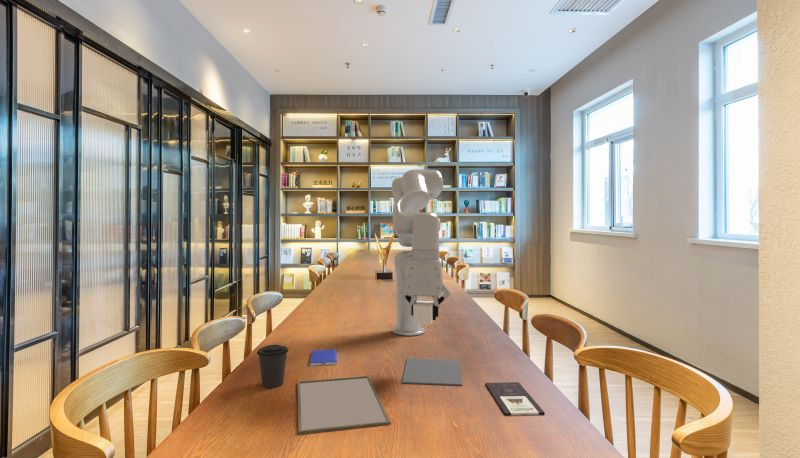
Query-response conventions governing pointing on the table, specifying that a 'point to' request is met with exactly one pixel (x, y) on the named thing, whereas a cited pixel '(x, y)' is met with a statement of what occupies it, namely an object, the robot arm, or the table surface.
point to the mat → (432, 372)
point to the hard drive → (323, 357)
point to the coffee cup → (272, 365)
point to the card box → (423, 311)
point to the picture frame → (339, 405)
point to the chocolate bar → (514, 399)
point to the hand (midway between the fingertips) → (424, 318)
